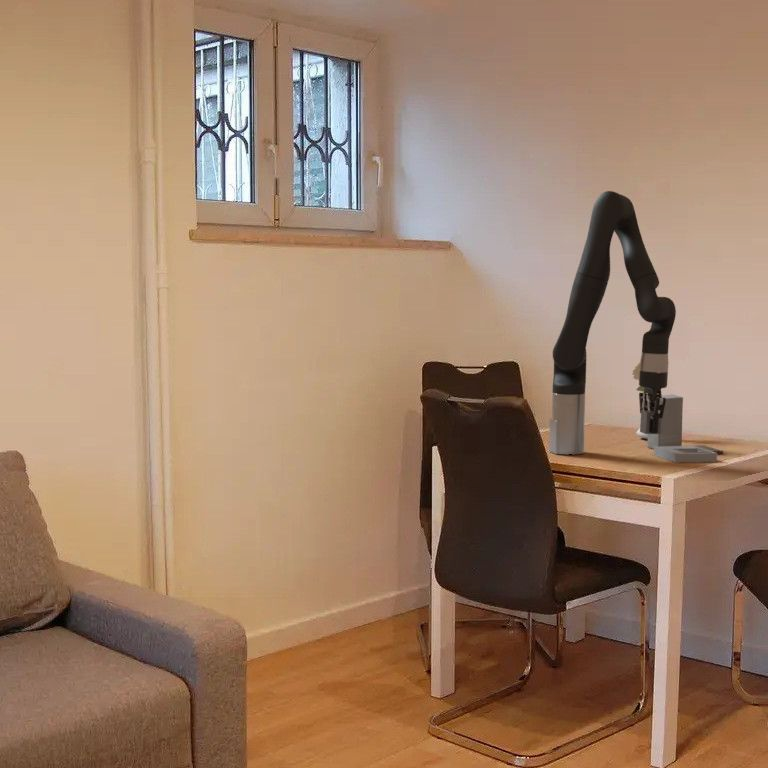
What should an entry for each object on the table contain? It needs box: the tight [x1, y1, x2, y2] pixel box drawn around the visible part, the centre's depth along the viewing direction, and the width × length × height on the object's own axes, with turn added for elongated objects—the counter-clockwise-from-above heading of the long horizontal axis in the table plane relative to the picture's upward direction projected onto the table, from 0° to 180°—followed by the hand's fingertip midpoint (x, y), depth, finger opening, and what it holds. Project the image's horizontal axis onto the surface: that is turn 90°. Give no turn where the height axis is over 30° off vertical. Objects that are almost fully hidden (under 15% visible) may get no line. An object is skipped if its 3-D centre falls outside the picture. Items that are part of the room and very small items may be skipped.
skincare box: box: [647, 394, 684, 450], centre depth 329 cm, size 8×7×16 cm
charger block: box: [639, 410, 661, 434], centre depth 307 cm, size 4×4×6 cm
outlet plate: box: [653, 445, 718, 464], centre depth 312 cm, size 12×14×2 cm
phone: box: [693, 444, 724, 455], centre depth 325 cm, size 12×6×1 cm, turn 10°
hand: (650, 431), depth 307 cm, fingers closed on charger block, 4 cm apart
